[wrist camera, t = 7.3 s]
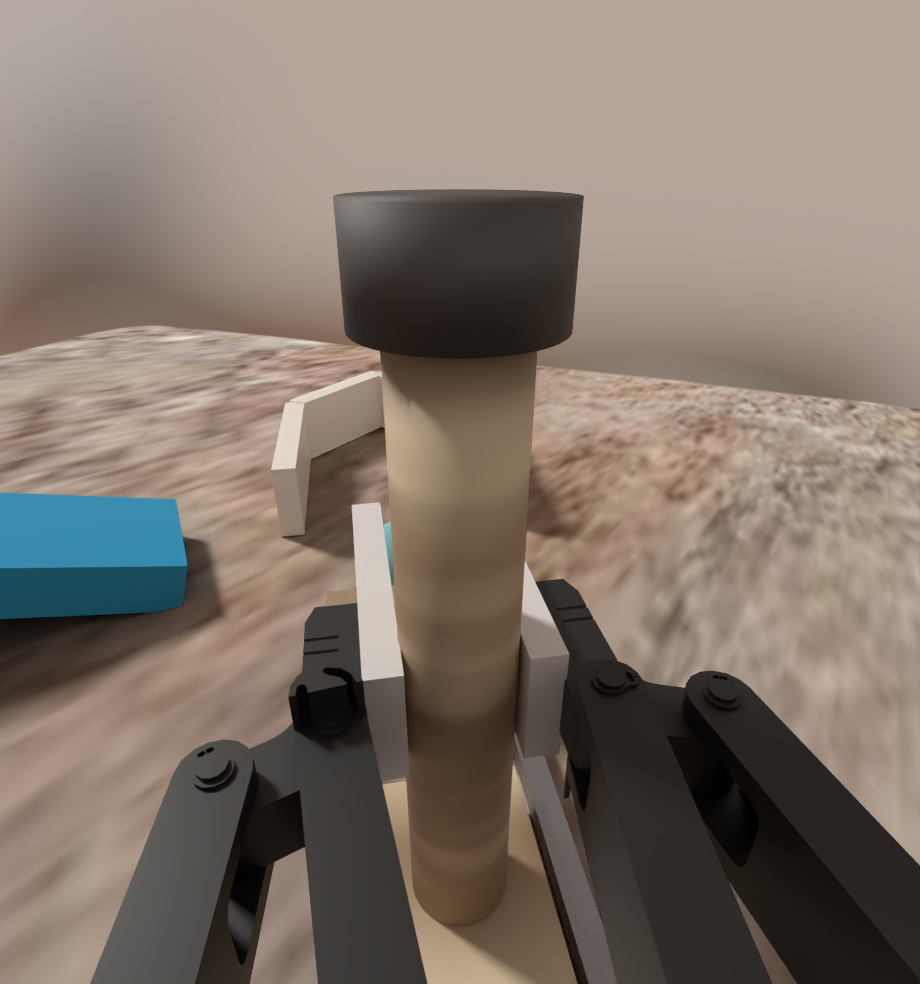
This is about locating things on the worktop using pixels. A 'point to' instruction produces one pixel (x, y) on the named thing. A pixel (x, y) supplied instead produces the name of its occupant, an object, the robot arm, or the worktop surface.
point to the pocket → (320, 438)
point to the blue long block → (89, 555)
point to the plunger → (462, 543)
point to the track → (565, 872)
